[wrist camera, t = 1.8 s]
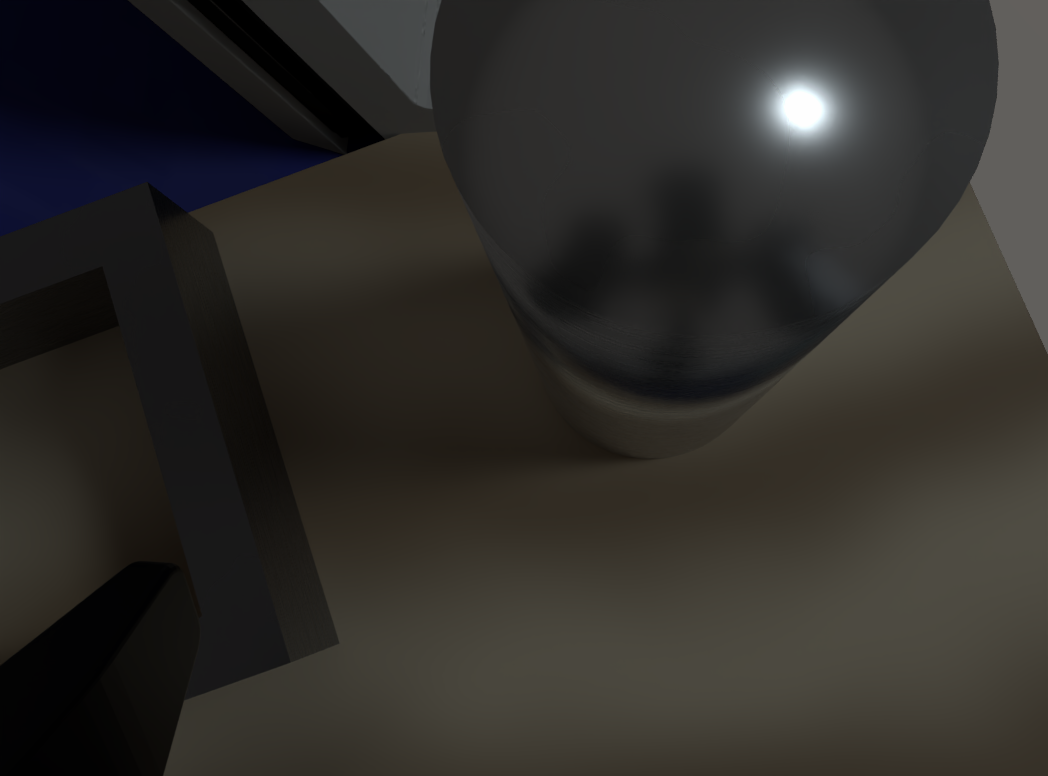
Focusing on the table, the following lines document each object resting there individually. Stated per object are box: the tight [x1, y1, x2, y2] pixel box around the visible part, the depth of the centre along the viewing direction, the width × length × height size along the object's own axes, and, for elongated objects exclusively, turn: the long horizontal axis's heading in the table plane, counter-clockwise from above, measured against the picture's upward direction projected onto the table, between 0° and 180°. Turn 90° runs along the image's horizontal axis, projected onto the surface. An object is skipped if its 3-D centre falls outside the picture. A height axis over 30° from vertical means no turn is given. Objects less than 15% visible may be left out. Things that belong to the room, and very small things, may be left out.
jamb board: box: [0, 131, 1048, 776], centre depth 20 cm, size 16×26×1 cm, turn 109°
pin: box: [430, 0, 998, 459], centre depth 14 cm, size 4×4×12 cm
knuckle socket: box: [0, 182, 340, 700], centre depth 19 cm, size 9×9×3 cm
